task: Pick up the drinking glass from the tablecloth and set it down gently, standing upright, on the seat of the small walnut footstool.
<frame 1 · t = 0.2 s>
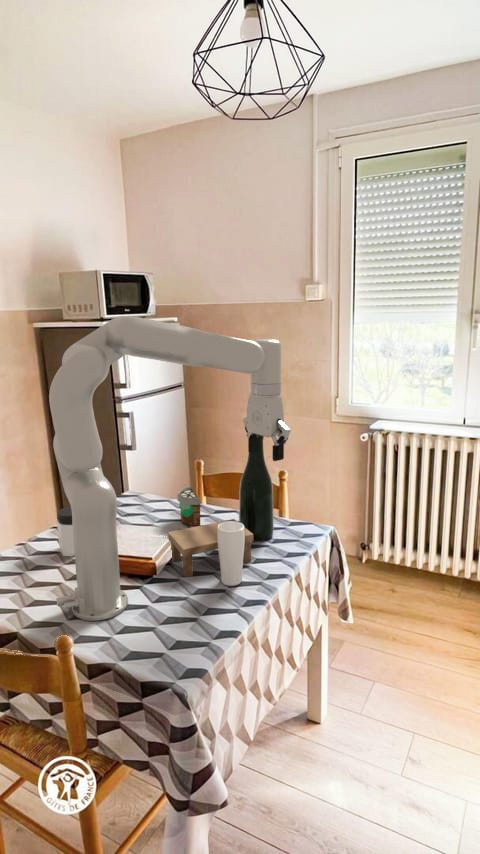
hand: (265, 455, 134), 30 cm above the table, tool pointing down, fingers open, 9 cm apart
dark green wine bottle: (256, 535, 160), on the table
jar: (75, 550, 151), on the table
drinking glass: (231, 582, 133), on the table
food container: (187, 522, 170), on the table
footstool: (211, 560, 144), on the table
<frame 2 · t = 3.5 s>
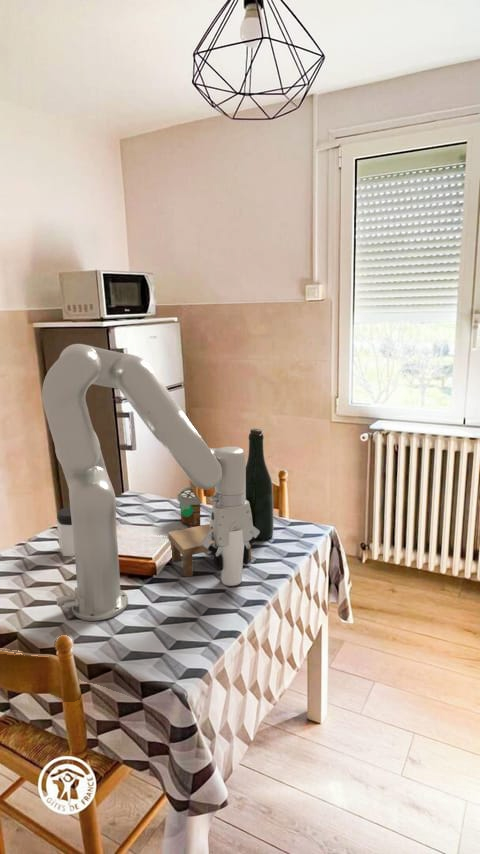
hand: (231, 564, 132), 5 cm above the table, tool pointing down, fingers closed on drinking glass, 6 cm apart
drinking glass: (231, 582, 133), on the table, touching gripper
everything else where it was.
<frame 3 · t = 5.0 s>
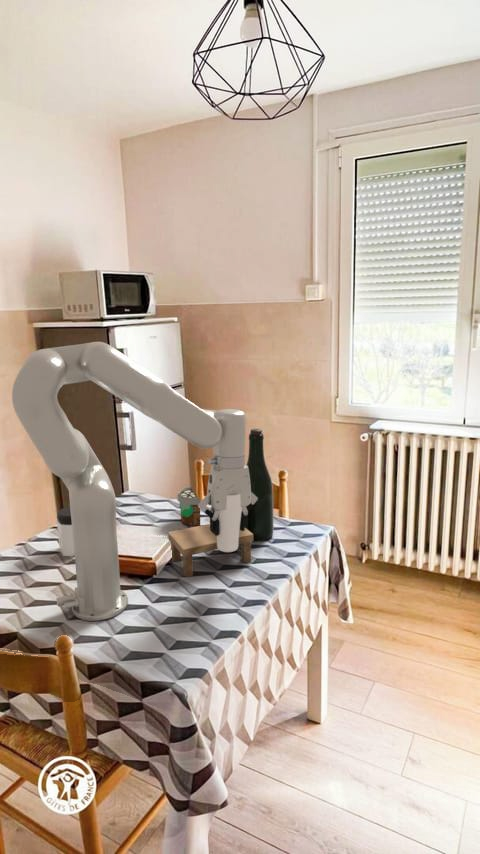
hand: (227, 530, 129), 14 cm above the table, tool pointing down, fingers closed on drinking glass, 6 cm apart
drinking glass: (227, 549, 131), point 9 cm above the table, touching gripper
everything else where it was.
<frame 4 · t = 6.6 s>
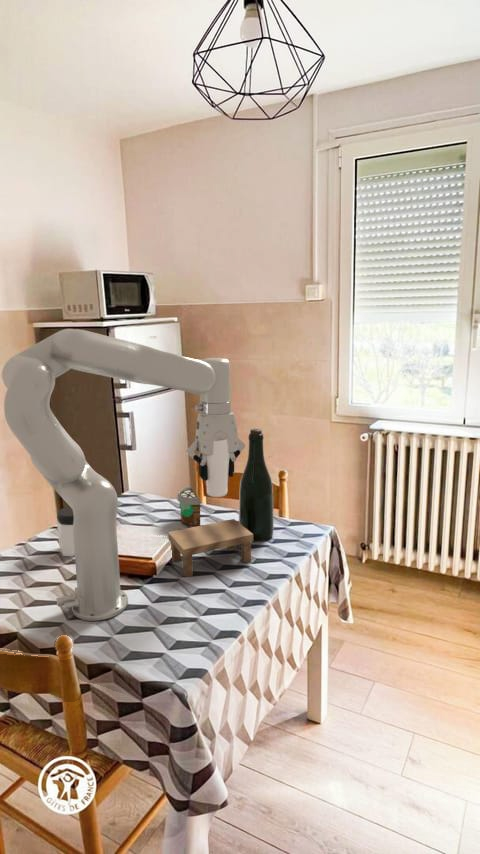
hand: (216, 476, 134), 25 cm above the table, tool pointing down, fingers closed on drinking glass, 6 cm apart
drinking glass: (217, 494, 135), point 21 cm above the table, touching gripper
everything else where it was.
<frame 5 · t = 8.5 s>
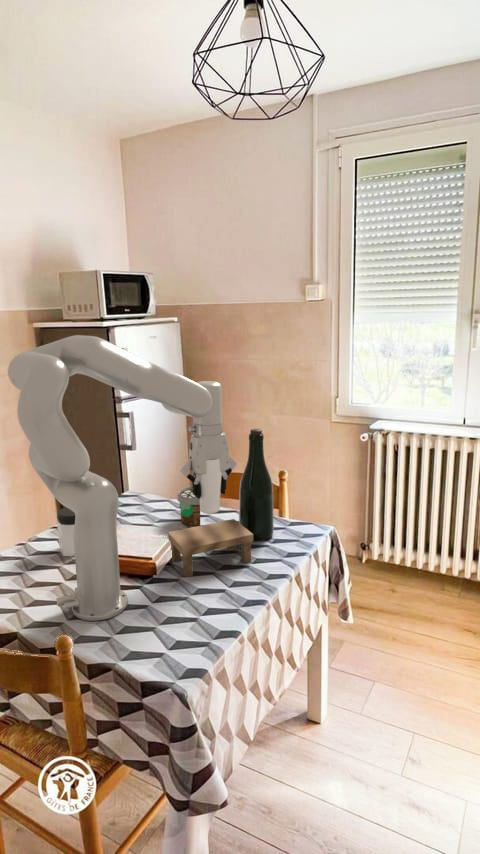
hand: (209, 494, 140), 19 cm above the table, tool pointing down, fingers closed on drinking glass, 6 cm apart
drinking glass: (210, 511, 141), point 14 cm above the table, touching gripper
everything else where it was.
when the fingers open (14 cm above the table, at t = 10.2 s): drinking glass drops 1 cm, resting on footstool.
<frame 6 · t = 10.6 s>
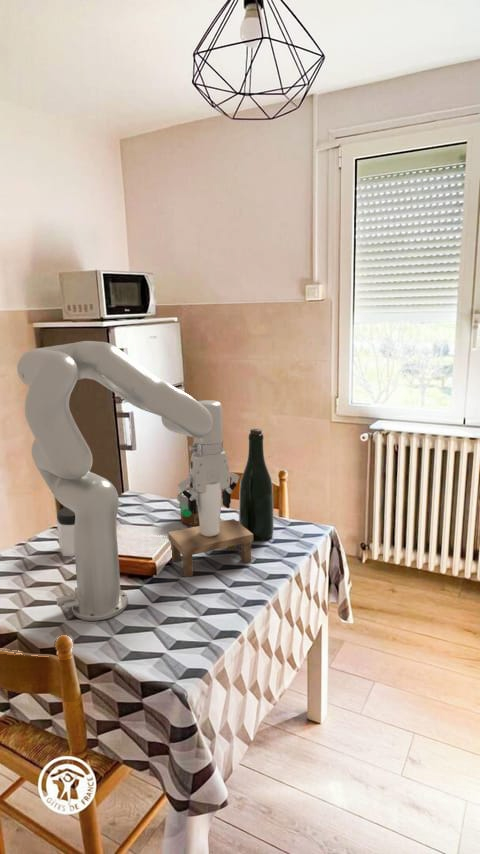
hand: (209, 509, 141), 15 cm above the table, tool pointing down, fingers open, 9 cm apart
drinking glass: (209, 534, 142), point 8 cm above the table, touching footstool
everything else where it was.
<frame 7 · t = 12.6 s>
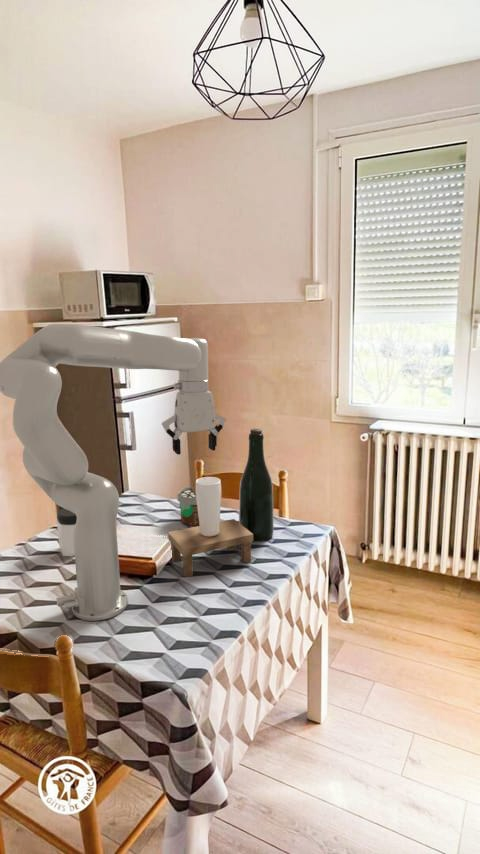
hand: (195, 451, 139), 31 cm above the table, tool pointing down, fingers open, 9 cm apart
nothing on the table moved.
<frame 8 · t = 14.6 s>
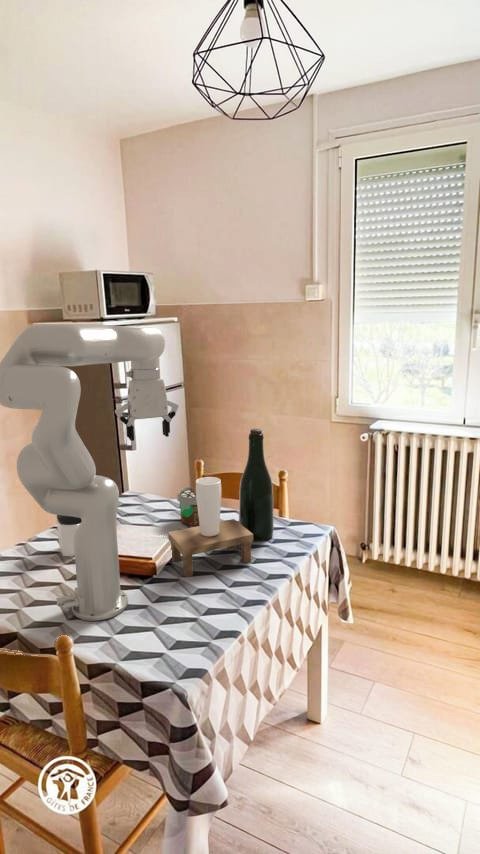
hand: (148, 437, 143), 33 cm above the table, tool pointing down, fingers open, 9 cm apart
nothing on the table moved.
at the end: drinking glass inside the target area on the footstool (0.2 cm from its centre), point 7.8 cm above the footstool's base; drinking glass tilted 0°; the gripper is holding nothing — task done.
